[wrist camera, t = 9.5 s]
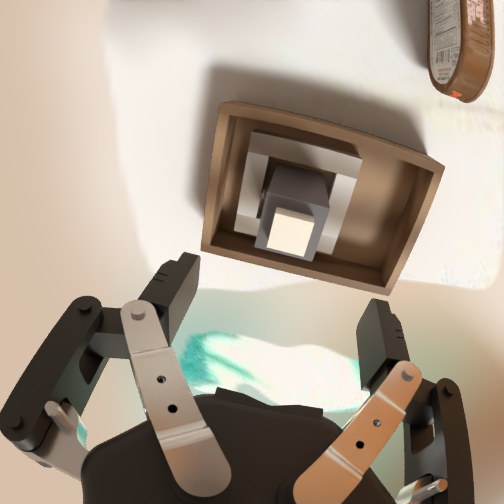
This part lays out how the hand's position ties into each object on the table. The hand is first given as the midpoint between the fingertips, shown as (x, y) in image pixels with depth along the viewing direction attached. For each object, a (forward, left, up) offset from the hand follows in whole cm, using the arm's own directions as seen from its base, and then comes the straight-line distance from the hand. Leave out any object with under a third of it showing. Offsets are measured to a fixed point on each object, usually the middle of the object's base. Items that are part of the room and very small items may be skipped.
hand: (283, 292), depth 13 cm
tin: (-19, +9, -16) cm, 27 cm away
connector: (0, 0, -15) cm, 15 cm away
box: (0, +2, -16) cm, 16 cm away
